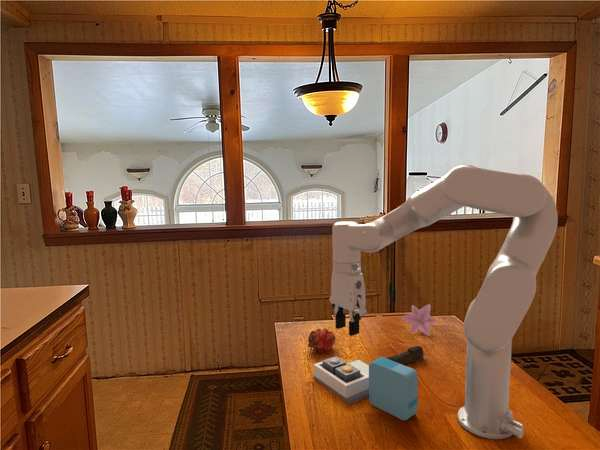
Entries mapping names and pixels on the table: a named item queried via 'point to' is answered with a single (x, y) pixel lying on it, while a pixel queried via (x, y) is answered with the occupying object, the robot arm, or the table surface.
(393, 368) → the data package
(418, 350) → the hand tool
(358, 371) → the tagged breaker
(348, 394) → the board
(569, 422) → the table surface
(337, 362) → the grey square block
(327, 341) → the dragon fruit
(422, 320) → the lily
